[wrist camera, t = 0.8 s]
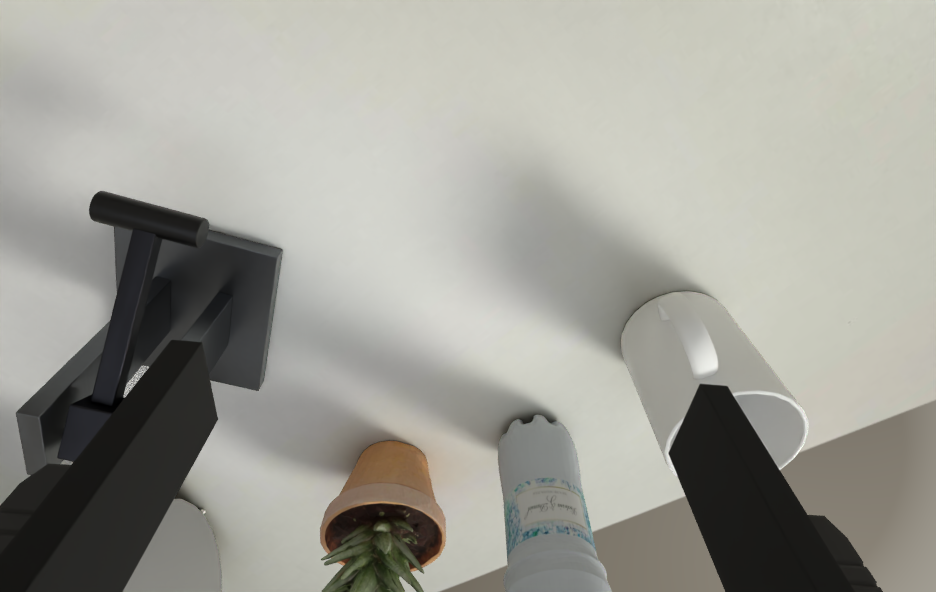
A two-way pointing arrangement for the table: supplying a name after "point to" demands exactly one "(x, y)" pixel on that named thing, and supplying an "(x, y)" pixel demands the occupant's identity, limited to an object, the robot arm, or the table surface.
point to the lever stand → (173, 328)
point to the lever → (125, 306)
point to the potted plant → (383, 522)
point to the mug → (706, 371)
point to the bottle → (546, 512)
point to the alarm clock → (179, 555)
